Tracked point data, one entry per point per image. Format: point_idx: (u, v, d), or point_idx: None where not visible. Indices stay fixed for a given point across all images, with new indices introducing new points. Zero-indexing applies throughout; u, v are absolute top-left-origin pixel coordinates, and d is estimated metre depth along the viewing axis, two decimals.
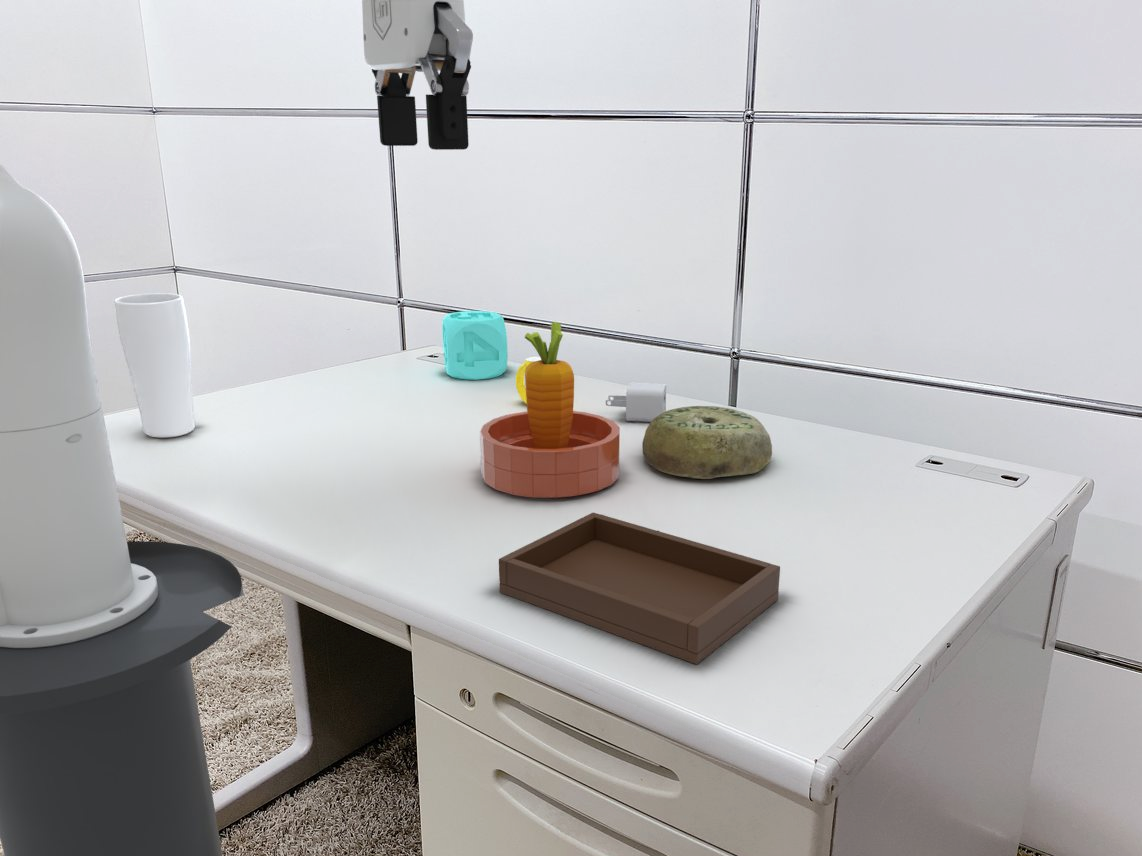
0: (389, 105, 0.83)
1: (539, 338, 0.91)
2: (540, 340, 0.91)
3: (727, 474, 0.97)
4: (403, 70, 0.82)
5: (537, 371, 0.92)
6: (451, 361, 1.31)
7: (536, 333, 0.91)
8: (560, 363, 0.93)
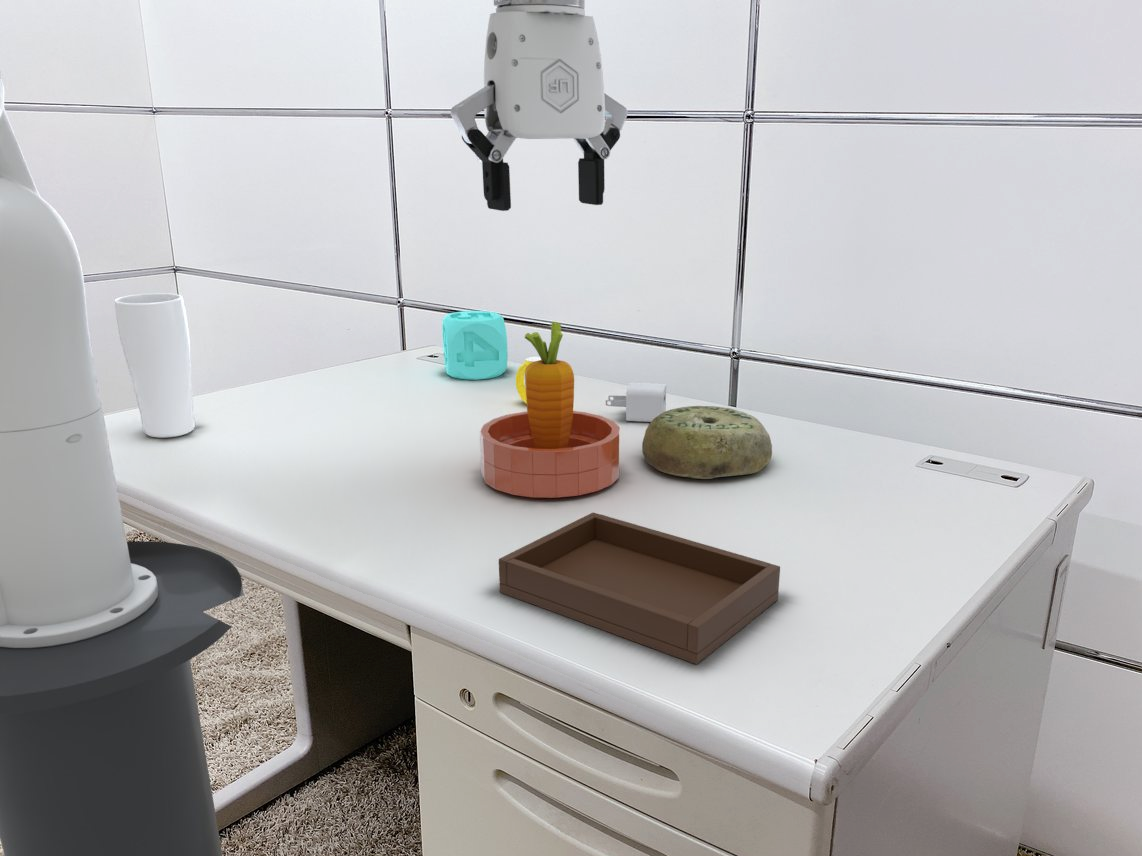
0: None
1: (539, 338, 0.91)
2: (540, 340, 0.91)
3: (727, 474, 0.97)
4: None
5: (537, 371, 0.92)
6: (451, 361, 1.31)
7: (536, 333, 0.91)
8: (560, 363, 0.93)
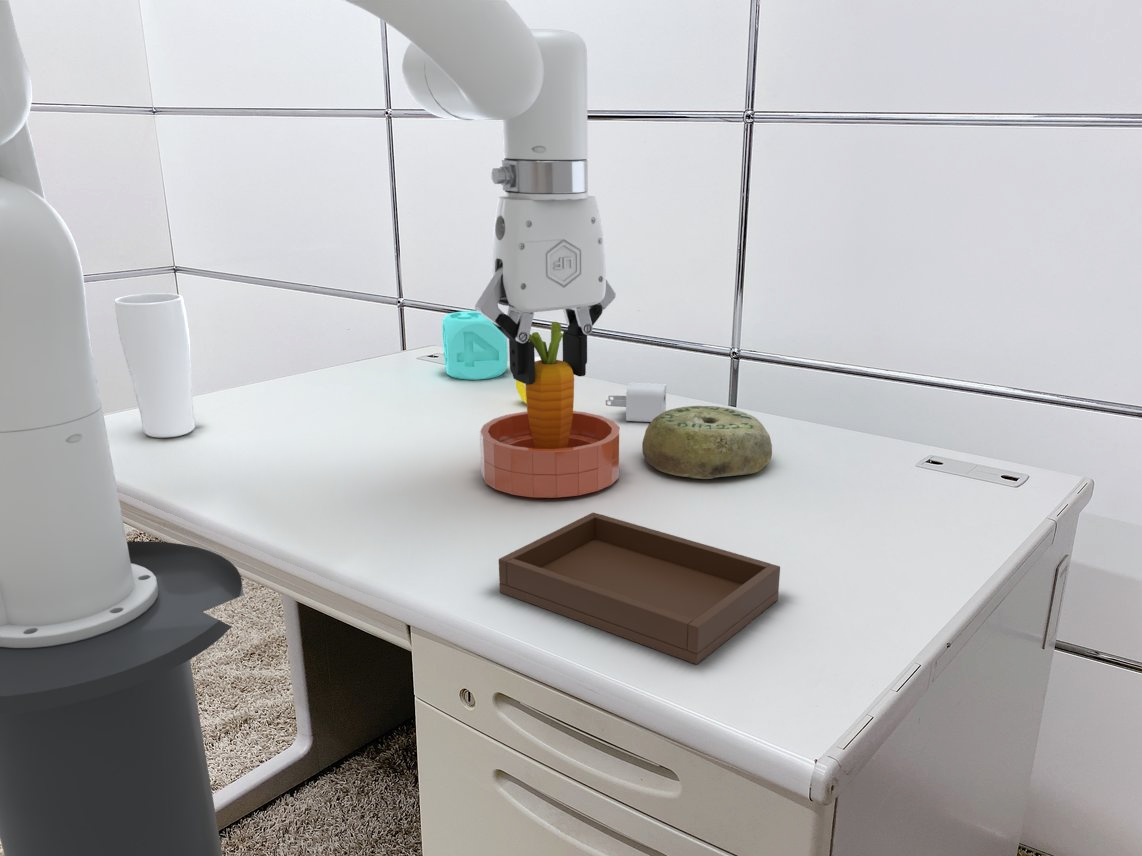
0: None
1: (539, 338, 0.91)
2: (540, 340, 0.91)
3: (727, 474, 0.97)
4: None
5: (537, 371, 0.92)
6: (451, 361, 1.31)
7: (536, 333, 0.91)
8: (560, 363, 0.93)
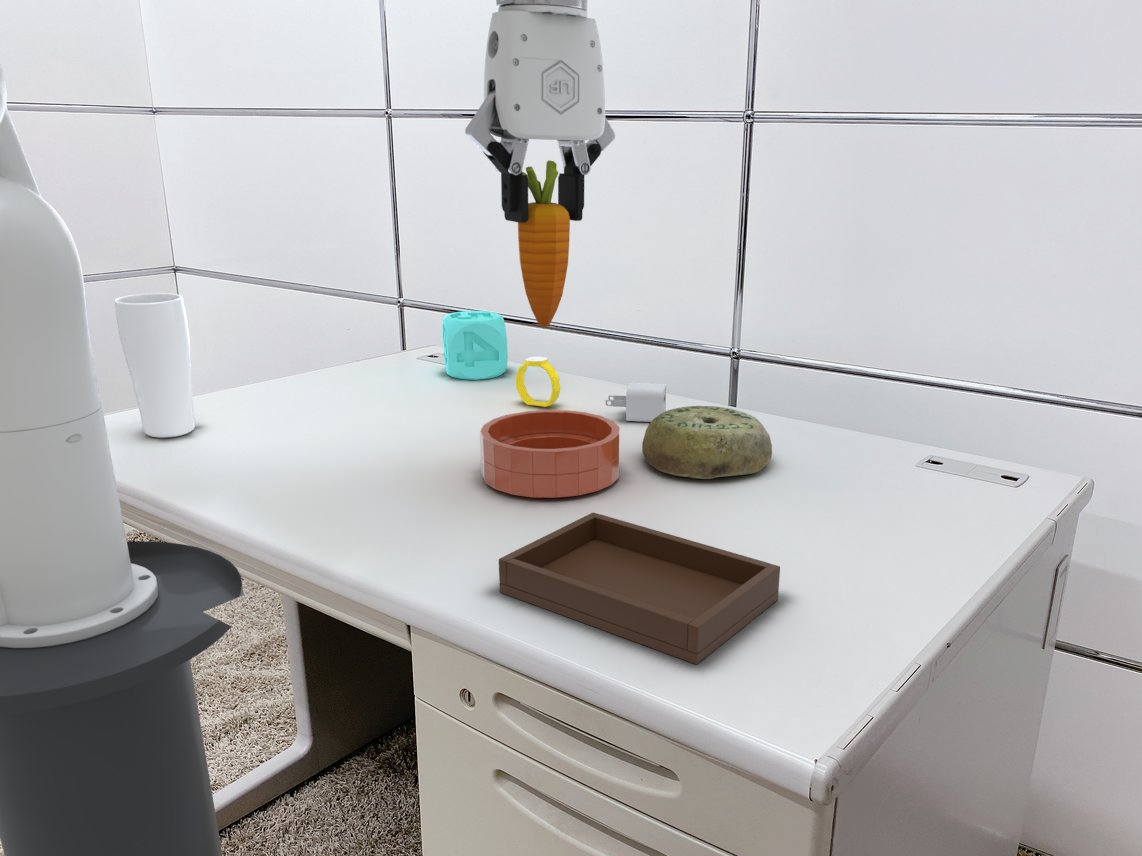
0: None
1: (533, 173, 0.85)
2: (534, 175, 0.86)
3: (727, 474, 0.97)
4: None
5: (531, 210, 0.87)
6: (451, 361, 1.31)
7: (530, 167, 0.85)
8: (555, 204, 0.88)
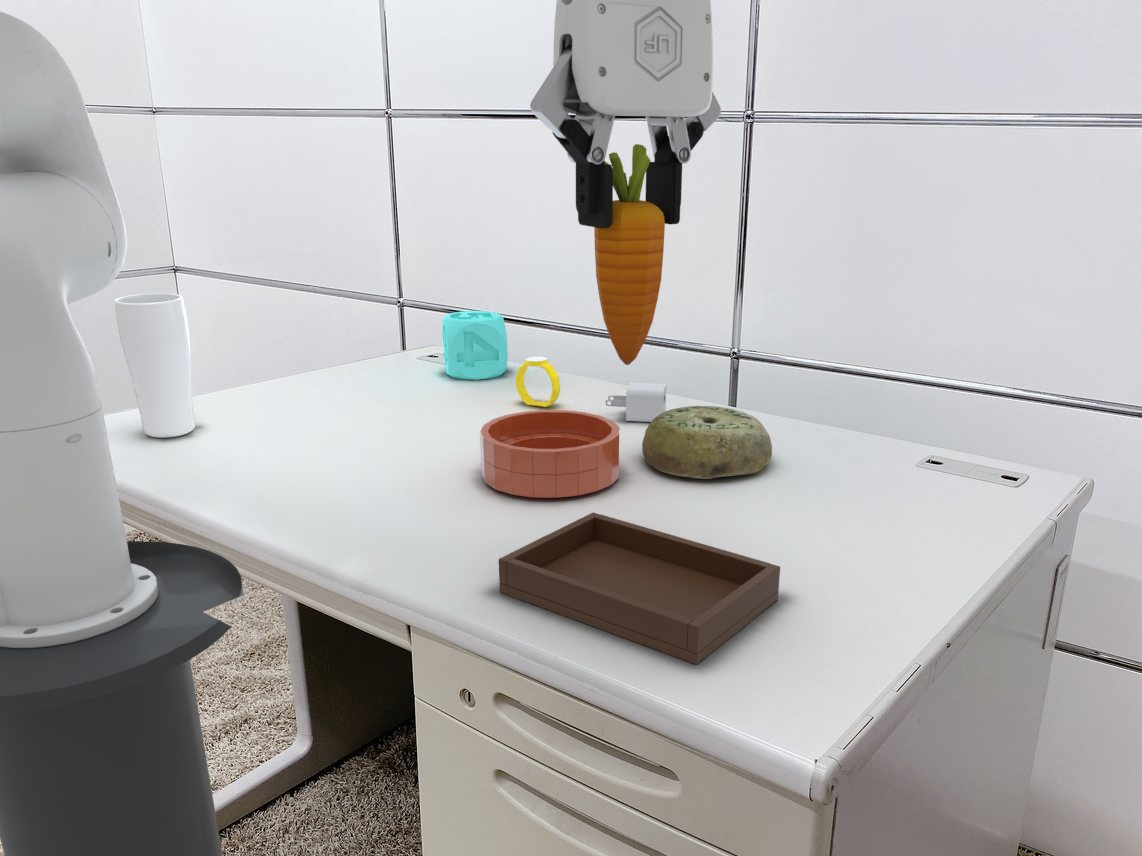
0: None
1: (619, 161, 0.64)
2: (620, 164, 0.64)
3: (727, 474, 0.97)
4: None
5: (615, 210, 0.65)
6: (451, 361, 1.31)
7: (615, 153, 0.64)
8: (646, 202, 0.66)
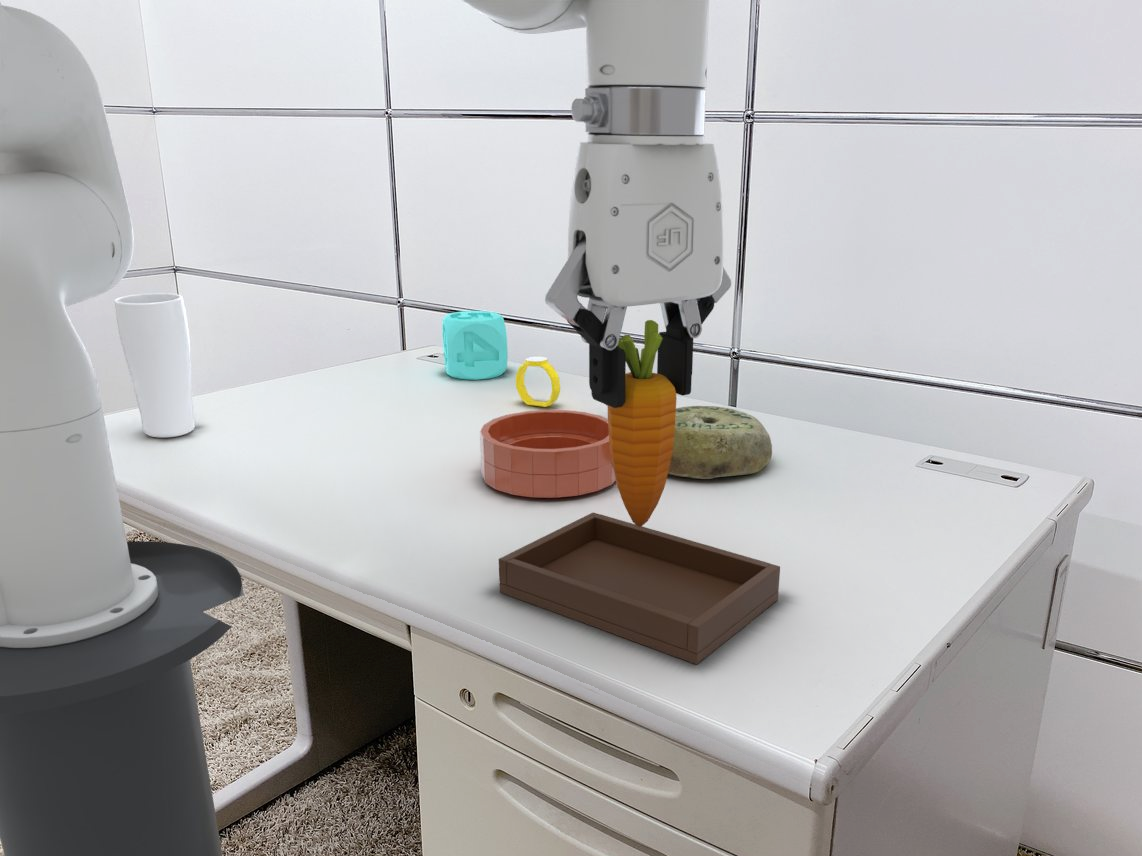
0: None
1: (631, 343, 0.65)
2: (633, 346, 0.65)
3: (727, 474, 0.97)
4: None
5: (628, 388, 0.66)
6: (451, 361, 1.31)
7: (627, 336, 0.65)
8: (658, 377, 0.67)
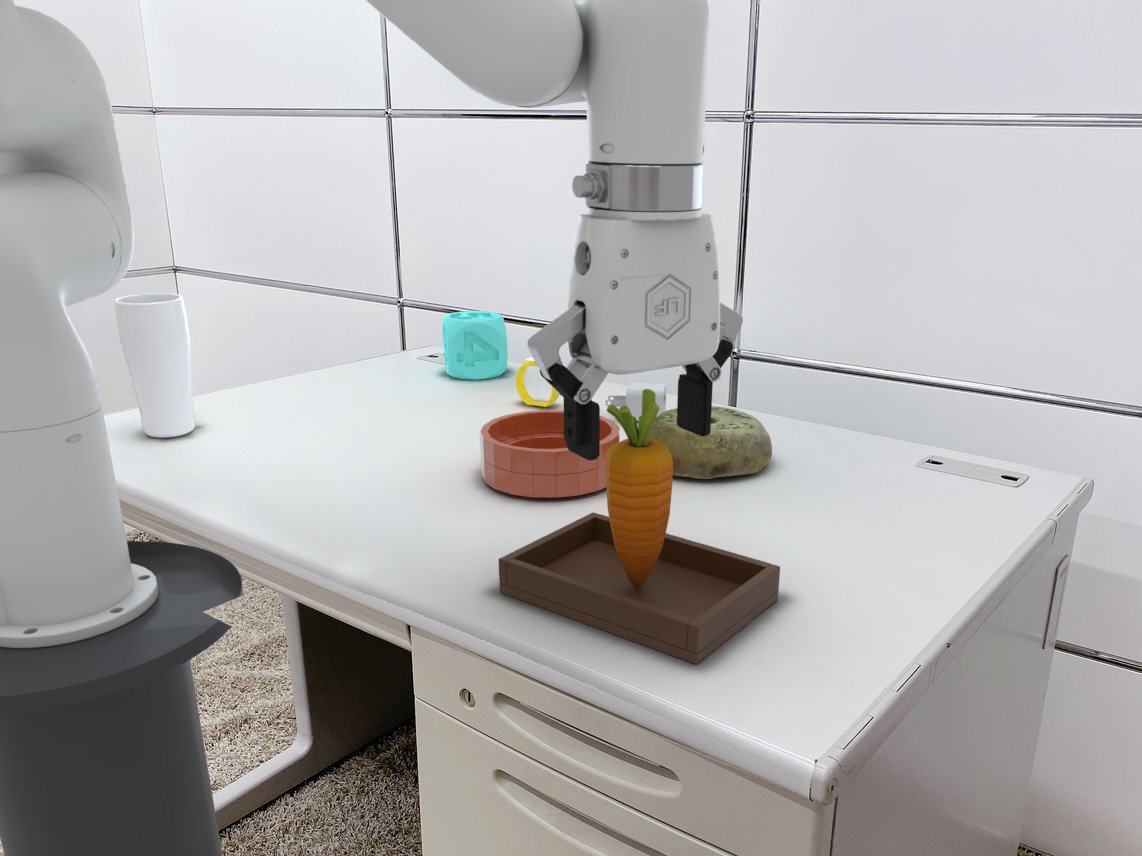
0: None
1: (629, 414, 0.67)
2: (630, 416, 0.67)
3: (727, 474, 0.97)
4: None
5: (625, 457, 0.68)
6: (451, 361, 1.31)
7: (625, 407, 0.67)
8: (655, 445, 0.69)
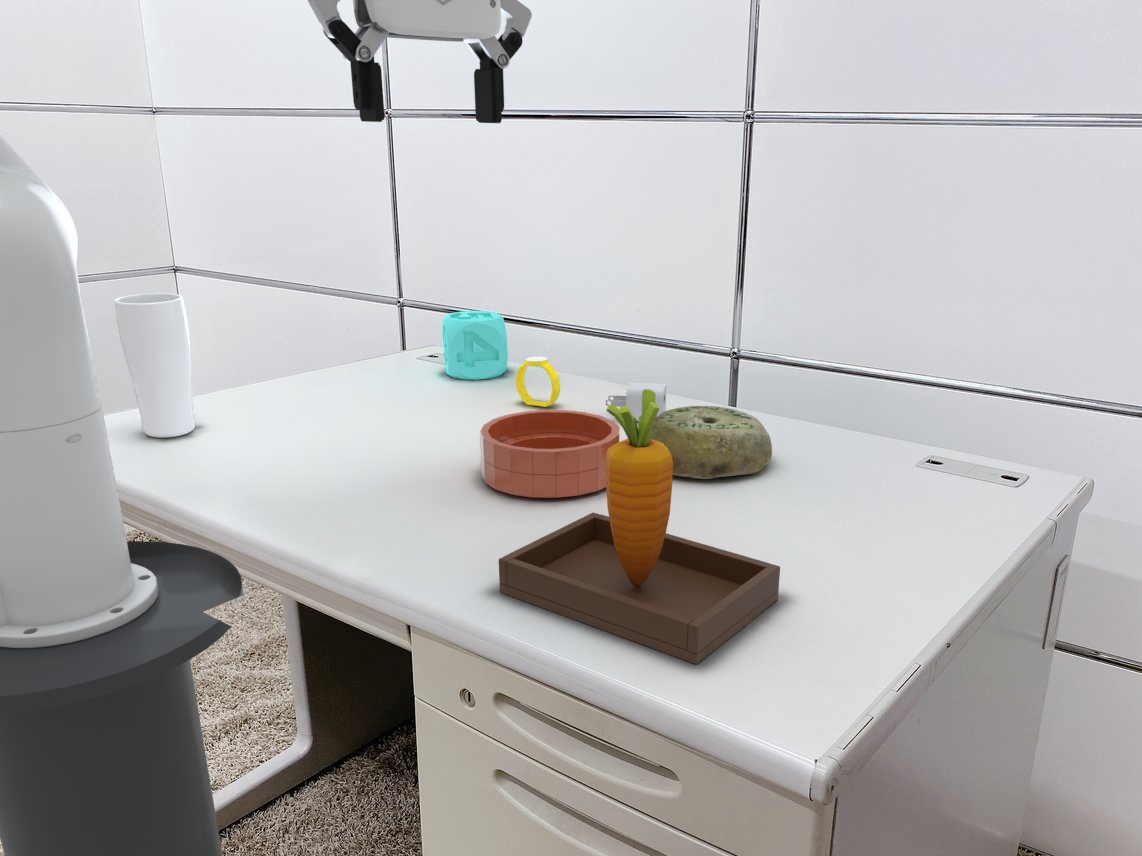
0: None
1: (629, 414, 0.67)
2: (630, 416, 0.67)
3: (727, 474, 0.97)
4: None
5: (625, 457, 0.68)
6: (451, 361, 1.31)
7: (625, 407, 0.67)
8: (655, 445, 0.69)
